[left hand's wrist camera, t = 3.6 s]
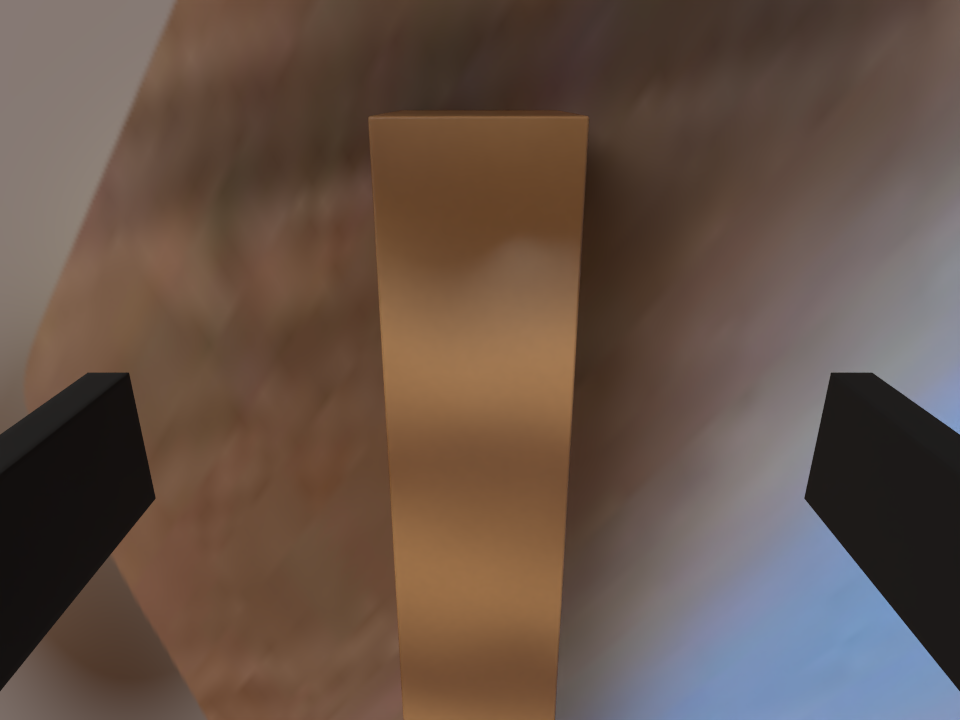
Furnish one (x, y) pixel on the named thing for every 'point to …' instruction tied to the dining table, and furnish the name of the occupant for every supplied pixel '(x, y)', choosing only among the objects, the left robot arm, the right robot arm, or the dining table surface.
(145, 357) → the dining table surface
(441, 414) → the beam
